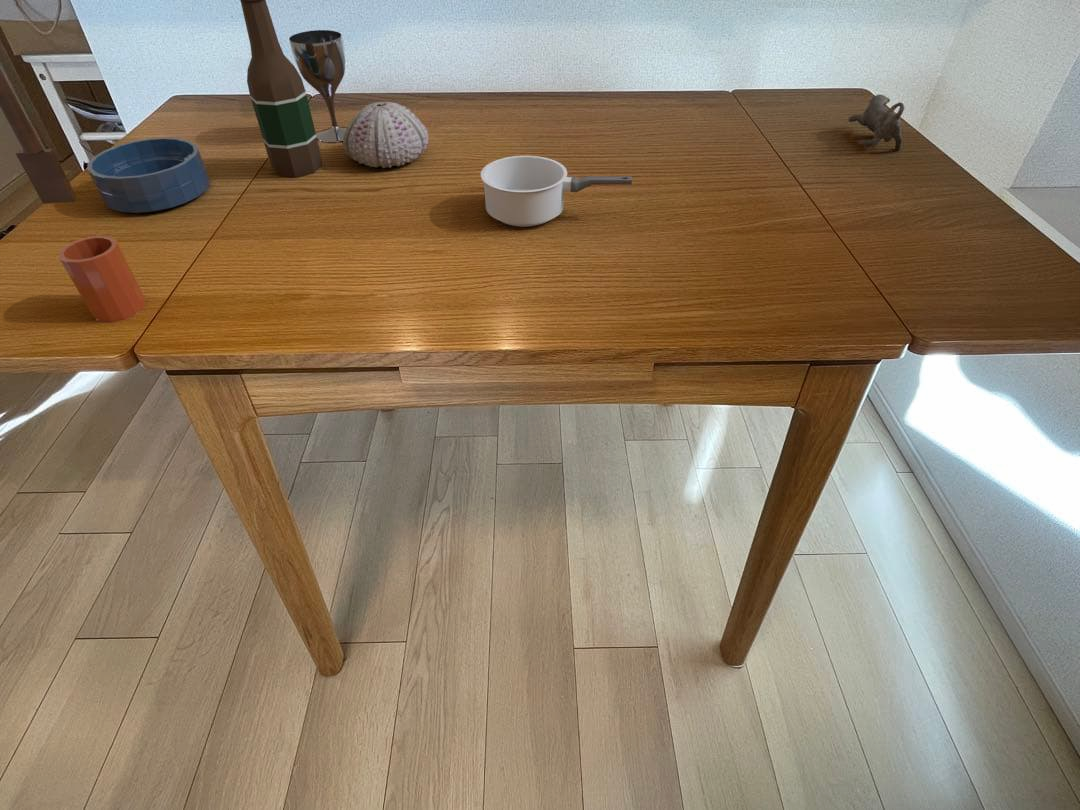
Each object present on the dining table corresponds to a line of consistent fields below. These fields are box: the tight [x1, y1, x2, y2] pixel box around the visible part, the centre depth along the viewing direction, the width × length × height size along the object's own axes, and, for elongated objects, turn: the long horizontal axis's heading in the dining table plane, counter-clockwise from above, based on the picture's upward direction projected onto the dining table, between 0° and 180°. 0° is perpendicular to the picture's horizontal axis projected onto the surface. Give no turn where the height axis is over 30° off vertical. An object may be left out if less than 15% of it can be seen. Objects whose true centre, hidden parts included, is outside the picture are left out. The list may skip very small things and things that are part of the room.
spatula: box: [0, 65, 78, 205], centre depth 58 cm, size 3×2×20 cm, turn 98°
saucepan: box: [480, 155, 633, 228], centre depth 88 cm, size 12×20×6 cm, turn 82°
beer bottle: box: [239, 0, 323, 178], centre depth 93 cm, size 8×8×24 cm
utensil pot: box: [58, 235, 147, 323], centre depth 71 cm, size 5×6×8 cm
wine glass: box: [288, 29, 347, 143], centre depth 106 cm, size 8×8×15 cm
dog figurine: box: [847, 94, 905, 151], centre depth 105 cm, size 12×6×7 cm, turn 179°
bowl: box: [87, 137, 211, 214], centre depth 93 cm, size 14×14×6 cm
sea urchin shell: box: [341, 101, 430, 169], centre depth 102 cm, size 13×14×8 cm
